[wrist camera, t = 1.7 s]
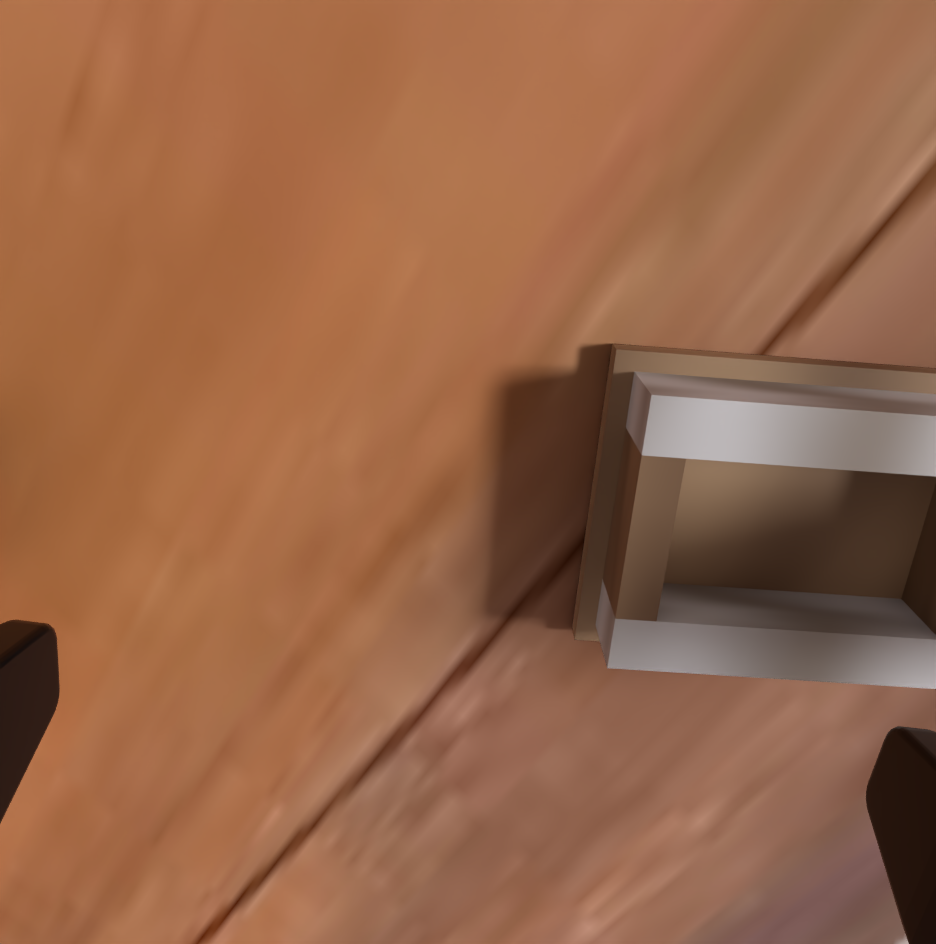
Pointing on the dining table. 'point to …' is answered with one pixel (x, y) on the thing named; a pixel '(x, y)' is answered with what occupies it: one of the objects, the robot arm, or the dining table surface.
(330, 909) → the dining table surface
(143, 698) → the dining table surface
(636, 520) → the track
